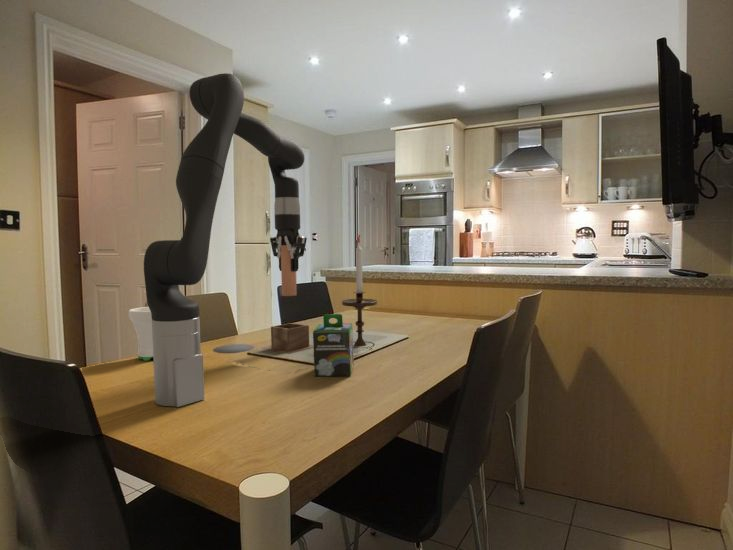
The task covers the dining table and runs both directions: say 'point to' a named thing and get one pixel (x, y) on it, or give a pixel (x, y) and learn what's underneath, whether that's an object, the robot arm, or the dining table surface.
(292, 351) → the open wooden box
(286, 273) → the dowel
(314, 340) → the chalk box
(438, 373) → the dining table surface
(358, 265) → the candlestick
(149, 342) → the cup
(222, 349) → the coaster
